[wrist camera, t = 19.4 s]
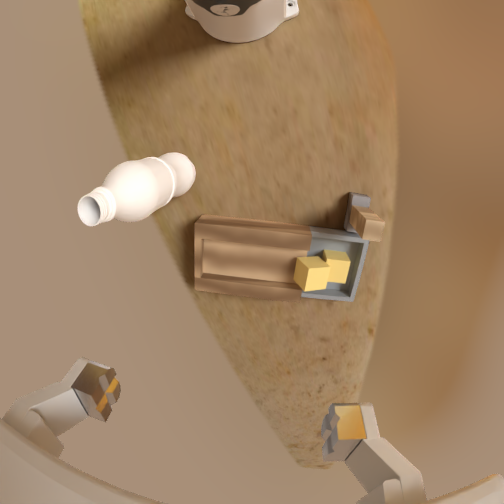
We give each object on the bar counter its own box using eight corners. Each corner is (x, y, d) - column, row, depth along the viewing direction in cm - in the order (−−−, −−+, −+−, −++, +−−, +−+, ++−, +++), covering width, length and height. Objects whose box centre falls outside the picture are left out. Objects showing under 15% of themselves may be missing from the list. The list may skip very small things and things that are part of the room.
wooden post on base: (349, 192, 43) (367, 207, 34) (366, 194, 43) (388, 211, 34) (343, 226, 46) (358, 250, 36) (359, 228, 46) (378, 252, 36)
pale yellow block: (297, 257, 45) (308, 268, 41) (318, 256, 46) (330, 266, 43) (293, 279, 46) (304, 291, 43) (313, 277, 48) (325, 288, 44)
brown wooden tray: (203, 214, 47) (194, 222, 43) (309, 225, 46) (312, 235, 42) (202, 276, 52) (194, 289, 48) (298, 288, 51) (299, 302, 47)
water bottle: (186, 200, 47) (106, 261, 24) (153, 179, 46) (55, 222, 23) (207, 165, 44) (132, 197, 21) (172, 143, 43) (75, 158, 20)
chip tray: (309, 225, 46) (310, 231, 44) (364, 233, 46) (369, 239, 43) (298, 288, 51) (299, 296, 48) (349, 293, 51) (353, 301, 48)
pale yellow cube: (327, 258, 44) (350, 261, 43) (323, 249, 47) (345, 252, 47) (322, 281, 45) (345, 283, 45) (319, 270, 49) (340, 272, 49)
